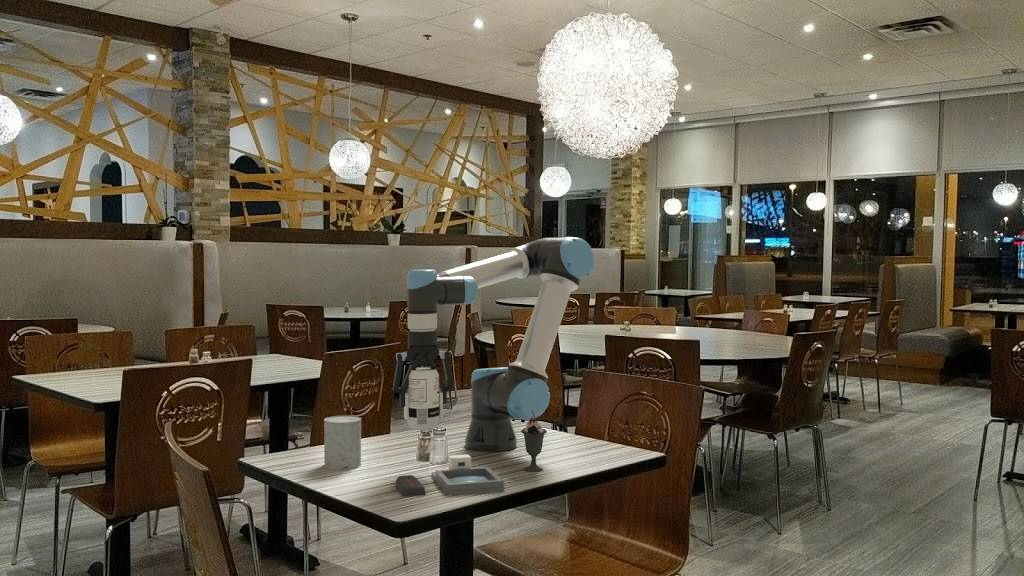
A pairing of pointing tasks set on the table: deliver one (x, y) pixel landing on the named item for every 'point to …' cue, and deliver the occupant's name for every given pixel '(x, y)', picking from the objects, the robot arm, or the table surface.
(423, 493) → the dark grey rounded block
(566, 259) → the robot arm
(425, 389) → the supplement can
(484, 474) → the charging dock
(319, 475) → the table surface
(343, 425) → the gray cylinder
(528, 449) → the sundae
